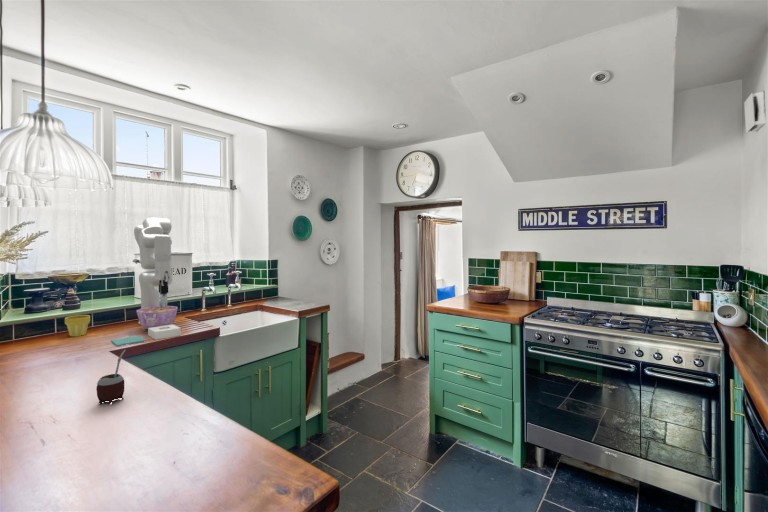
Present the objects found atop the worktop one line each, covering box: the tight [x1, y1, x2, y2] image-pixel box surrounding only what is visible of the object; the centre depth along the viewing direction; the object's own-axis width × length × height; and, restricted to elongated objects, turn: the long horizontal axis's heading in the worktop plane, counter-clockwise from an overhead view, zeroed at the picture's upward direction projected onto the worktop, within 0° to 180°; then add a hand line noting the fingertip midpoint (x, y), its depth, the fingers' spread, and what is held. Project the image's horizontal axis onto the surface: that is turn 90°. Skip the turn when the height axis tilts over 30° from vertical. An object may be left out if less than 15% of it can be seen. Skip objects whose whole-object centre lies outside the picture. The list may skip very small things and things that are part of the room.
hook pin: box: [159, 282, 168, 308], centre depth 191 cm, size 3×3×13 cm
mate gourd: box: [95, 349, 127, 404], centre depth 114 cm, size 8×8×15 cm
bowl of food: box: [136, 305, 179, 330], centre depth 205 cm, size 20×20×12 cm
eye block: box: [147, 323, 182, 341], centre depth 192 cm, size 12×12×4 cm
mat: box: [110, 335, 147, 347], centre depth 180 cm, size 12×12×1 cm
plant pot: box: [64, 314, 91, 337], centre depth 192 cm, size 10×10×10 cm
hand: (163, 292), depth 191 cm, fingers closed on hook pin, 3 cm apart
